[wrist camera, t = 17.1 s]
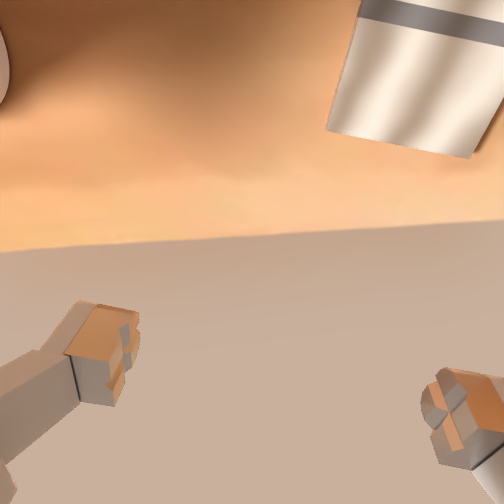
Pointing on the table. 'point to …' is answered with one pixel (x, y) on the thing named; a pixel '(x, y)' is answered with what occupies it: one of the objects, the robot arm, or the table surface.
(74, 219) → the table surface
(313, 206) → the table surface
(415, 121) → the board
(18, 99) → the table surface
